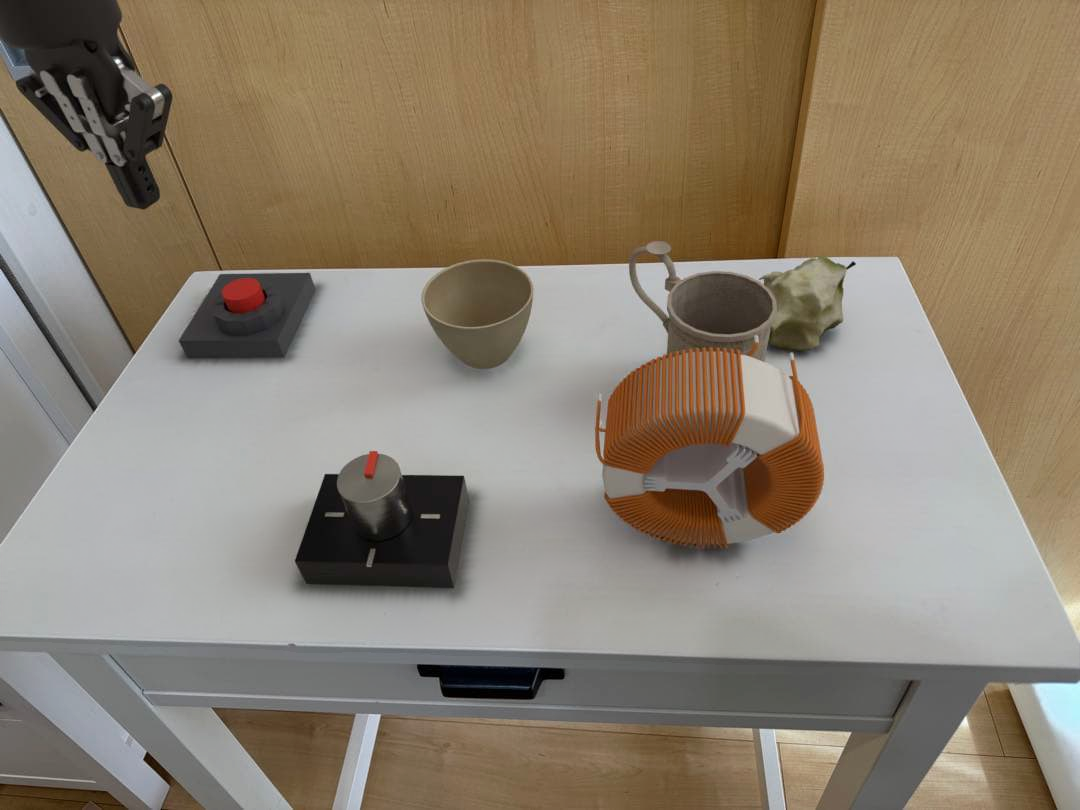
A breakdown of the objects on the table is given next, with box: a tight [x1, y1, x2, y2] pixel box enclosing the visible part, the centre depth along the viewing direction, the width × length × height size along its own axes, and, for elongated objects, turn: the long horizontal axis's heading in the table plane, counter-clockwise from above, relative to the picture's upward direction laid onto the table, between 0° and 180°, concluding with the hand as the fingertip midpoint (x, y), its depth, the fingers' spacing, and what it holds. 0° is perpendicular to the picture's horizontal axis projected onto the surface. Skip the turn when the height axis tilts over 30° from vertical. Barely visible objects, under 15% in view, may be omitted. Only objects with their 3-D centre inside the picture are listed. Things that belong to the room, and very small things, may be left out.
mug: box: [628, 240, 777, 362], centre depth 64 cm, size 14×10×12 cm
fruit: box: [758, 254, 857, 352], centre depth 70 cm, size 9×9×8 cm
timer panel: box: [294, 473, 470, 589], centre depth 57 cm, size 11×9×3 cm
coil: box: [594, 335, 825, 549], centre depth 53 cm, size 7×15×15 cm, turn 83°
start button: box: [222, 278, 265, 313], centre depth 74 cm, size 4×4×2 cm
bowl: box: [421, 258, 534, 370], centre depth 70 cm, size 10×10×7 cm
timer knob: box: [337, 450, 412, 541], centre depth 54 cm, size 4×4×5 cm
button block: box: [178, 272, 316, 358], centre depth 77 cm, size 11×10×4 cm
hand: (144, 203), depth 59 cm, fingers closed
